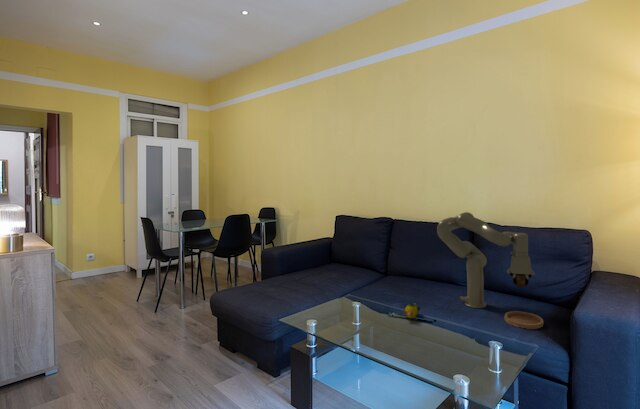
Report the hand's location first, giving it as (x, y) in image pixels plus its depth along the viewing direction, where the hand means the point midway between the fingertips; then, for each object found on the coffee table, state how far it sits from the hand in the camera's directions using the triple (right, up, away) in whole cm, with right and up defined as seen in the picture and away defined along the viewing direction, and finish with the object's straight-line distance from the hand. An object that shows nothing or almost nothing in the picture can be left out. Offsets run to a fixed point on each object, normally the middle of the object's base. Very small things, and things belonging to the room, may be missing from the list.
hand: (520, 284), depth 201 cm
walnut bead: (0, -1, 0) cm, 1 cm away
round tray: (-4, -19, -10) cm, 21 cm away
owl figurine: (-63, -21, +3) cm, 67 cm away
